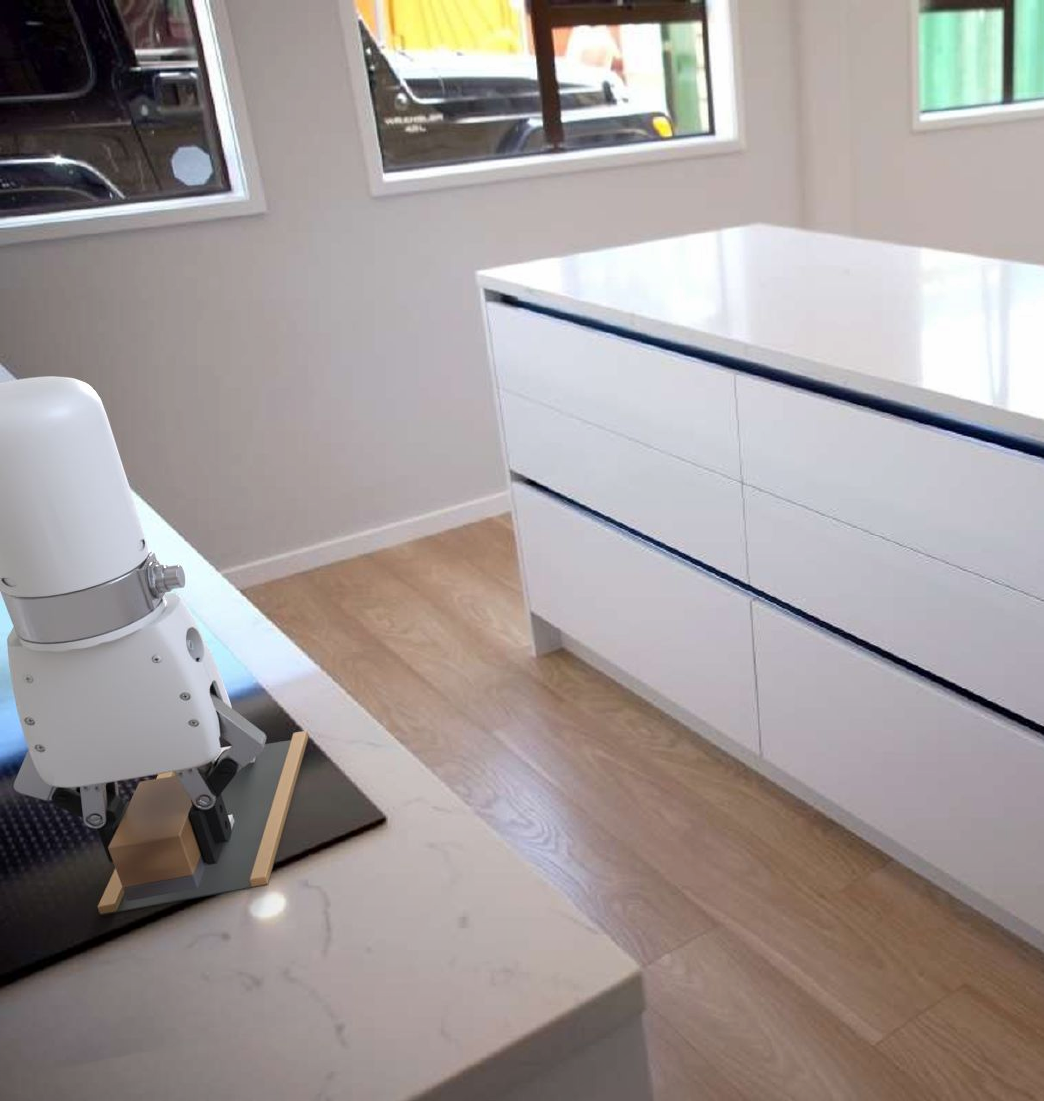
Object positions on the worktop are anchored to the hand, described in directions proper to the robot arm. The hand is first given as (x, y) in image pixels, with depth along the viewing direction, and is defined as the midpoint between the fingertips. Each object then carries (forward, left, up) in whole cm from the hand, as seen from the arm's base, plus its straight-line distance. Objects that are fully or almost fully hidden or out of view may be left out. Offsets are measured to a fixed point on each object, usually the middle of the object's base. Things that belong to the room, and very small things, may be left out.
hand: (175, 855), depth 78 cm
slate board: (0, +9, -4) cm, 10 cm away
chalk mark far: (0, +16, -3) cm, 17 cm away
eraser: (0, 0, 0) cm, 0 cm away
